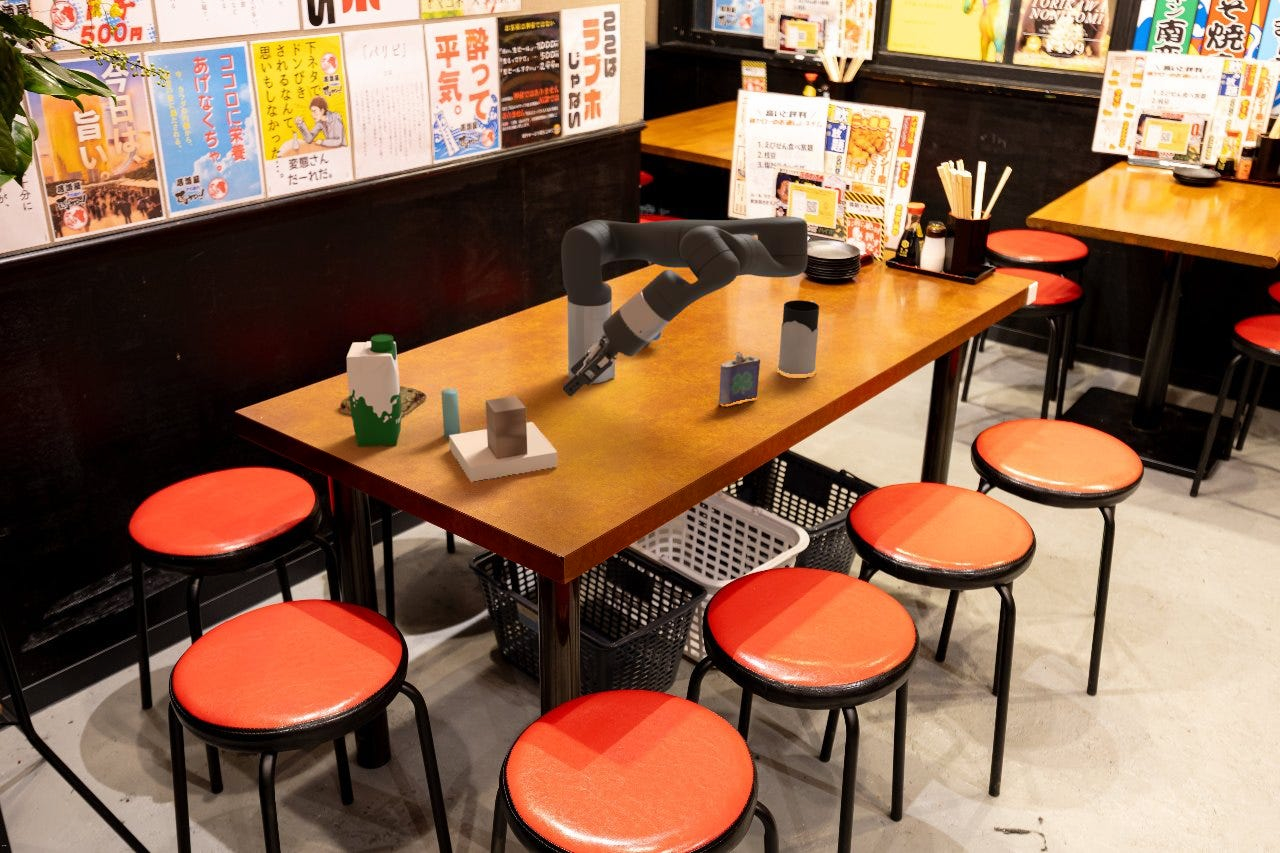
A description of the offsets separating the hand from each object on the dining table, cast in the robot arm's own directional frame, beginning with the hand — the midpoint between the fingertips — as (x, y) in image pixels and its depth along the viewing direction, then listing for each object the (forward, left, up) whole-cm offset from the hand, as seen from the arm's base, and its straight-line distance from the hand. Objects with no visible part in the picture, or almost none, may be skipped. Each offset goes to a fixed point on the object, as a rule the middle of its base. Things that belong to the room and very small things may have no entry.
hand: (570, 382), depth 193 cm
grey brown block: (+10, -6, -14) cm, 18 cm away
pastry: (+25, -41, -17) cm, 51 cm away
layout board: (+10, -9, -17) cm, 21 cm away
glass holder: (-64, -28, -17) cm, 72 cm away
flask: (-42, -16, -17) cm, 48 cm away
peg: (+16, -22, -17) cm, 32 cm away
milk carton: (+29, -26, -17) cm, 42 cm away
